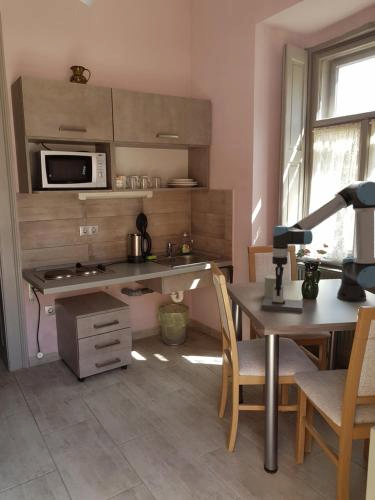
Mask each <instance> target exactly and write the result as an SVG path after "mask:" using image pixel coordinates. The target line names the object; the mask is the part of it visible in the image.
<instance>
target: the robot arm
mask: <svg viewBox="0 0 375 500" xmlns="http://www.w3.org/2000/svg"><path fill="white" fill-rule="evenodd" d="M350 206H352V209H353V210H354V212H355V243H356V246H355V248H356V249H355V250H356V251H355V252H356V257H344V258H342V261H341V262H342V263H341V277H340V278H341V280H340V286H339V289H338V291H337V293H336V298H337V299H339V300H341V301H344V302H351V301H362V302H365V301H367V293H366V289H367V288H368V289H370V288H374V287H375V181H372V180H363V181H362V180H361V181H359V180H357V181H356V180H355V181H353V182H350V183H349V184H347V185H345V186H344V187H343V188H342V189H340V190H338V191H337V192H335V194H334V196H333V197H331V198H330V199H329V200H328V201H326V202H325V203H323V204H322V205H321V206H319V207H318V208H316V209H314V210H313V211H311V212H310V213H309V214H307V215H306V216H304V217H303V218H301V219H300V220H299V221H297V222H296V223H295V224H292V225H291V226H287V225H275V226H274V227H273V231H272V232H273V233H272V249H271V252H272V258H271V260H272V261H271V263H272V264H273V265H276V266H275V271H274V272H275V275H276V288H274V289H275V290H276V296H275V302H281V285H283V275H284V266H285V265H287V264H288V256H289V246H290V245H292V246H293V245H296V246H297V245H299V246H301V245H303V246H305V245H310V244H312V242H313V232H312V230H313V229H315V228H316V227H317V226H319V225H320V224H322V223H323V222H324V221H326V220H327V219H329V218H330V217H332V216H334V215H335V214H337V213H338V212H339V211H341V210H342V209H347V208H349V207H350ZM283 265H284V266H283ZM365 288H366V289H365ZM364 300H365V301H364Z"/></svg>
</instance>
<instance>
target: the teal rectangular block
mask: <svg viewBox="0 0 375 500" xmlns="http://www.w3.org/2000/svg"><path fill="white" fill-rule="evenodd" d="M274 288H276V285H274V287H273V302H275V296H276V290H275V289H274ZM284 289H285V285H283V284H282V285H281V302H283V299H284V295H285V293H284V292H285V290H284Z"/></svg>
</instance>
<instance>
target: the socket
mask: <svg viewBox="0 0 375 500" xmlns="http://www.w3.org/2000/svg"><path fill="white" fill-rule="evenodd" d="M303 302H304V300H302V299H301V300H298V299H287V298H286V299H284V298H283V302H273V298H266V297H264V298H263V301H262V303H261V309H260V310H262V311H273V312H283V313H284V312H285V313H295V314H296V313H298V314H303V307H304V306H303V304H304V303H303Z"/></svg>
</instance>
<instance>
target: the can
mask: <svg viewBox="0 0 375 500" xmlns="http://www.w3.org/2000/svg"><path fill="white" fill-rule="evenodd" d="M274 285H276V274H274V275H273V274H269V275H265V276H264V290H263V291H264V292H263V297H264V298H273V287H274Z"/></svg>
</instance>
